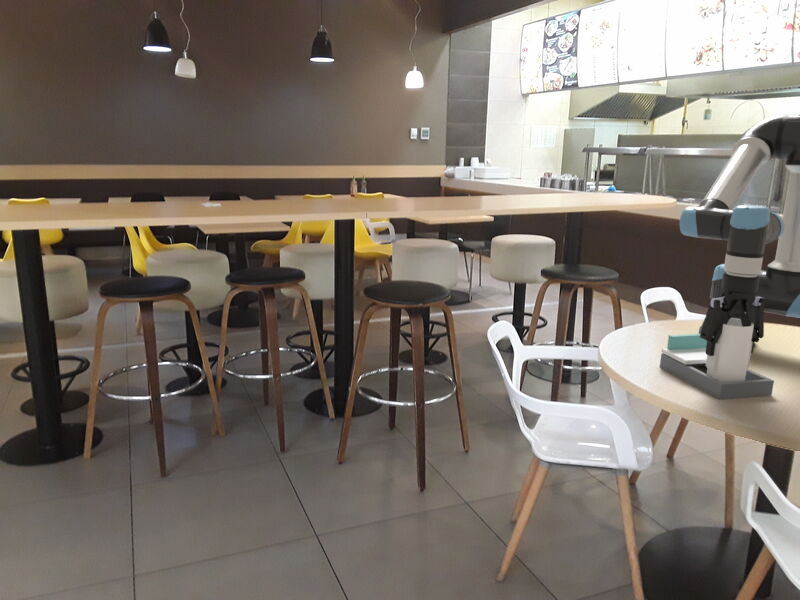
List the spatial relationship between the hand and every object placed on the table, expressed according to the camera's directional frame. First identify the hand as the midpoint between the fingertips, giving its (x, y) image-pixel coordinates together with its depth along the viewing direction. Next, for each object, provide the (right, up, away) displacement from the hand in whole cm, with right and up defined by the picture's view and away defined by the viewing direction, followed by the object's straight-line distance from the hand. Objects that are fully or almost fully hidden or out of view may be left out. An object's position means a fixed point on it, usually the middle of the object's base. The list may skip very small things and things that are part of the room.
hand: (726, 367), depth 149 cm
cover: (-2, +2, +10) cm, 10 cm away
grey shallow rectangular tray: (-1, -4, +5) cm, 6 cm away
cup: (0, -5, +1) cm, 5 cm away
